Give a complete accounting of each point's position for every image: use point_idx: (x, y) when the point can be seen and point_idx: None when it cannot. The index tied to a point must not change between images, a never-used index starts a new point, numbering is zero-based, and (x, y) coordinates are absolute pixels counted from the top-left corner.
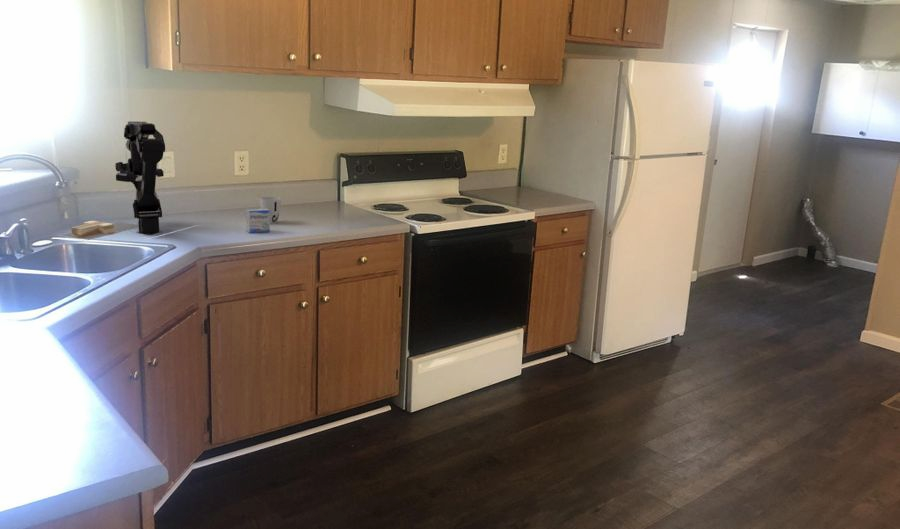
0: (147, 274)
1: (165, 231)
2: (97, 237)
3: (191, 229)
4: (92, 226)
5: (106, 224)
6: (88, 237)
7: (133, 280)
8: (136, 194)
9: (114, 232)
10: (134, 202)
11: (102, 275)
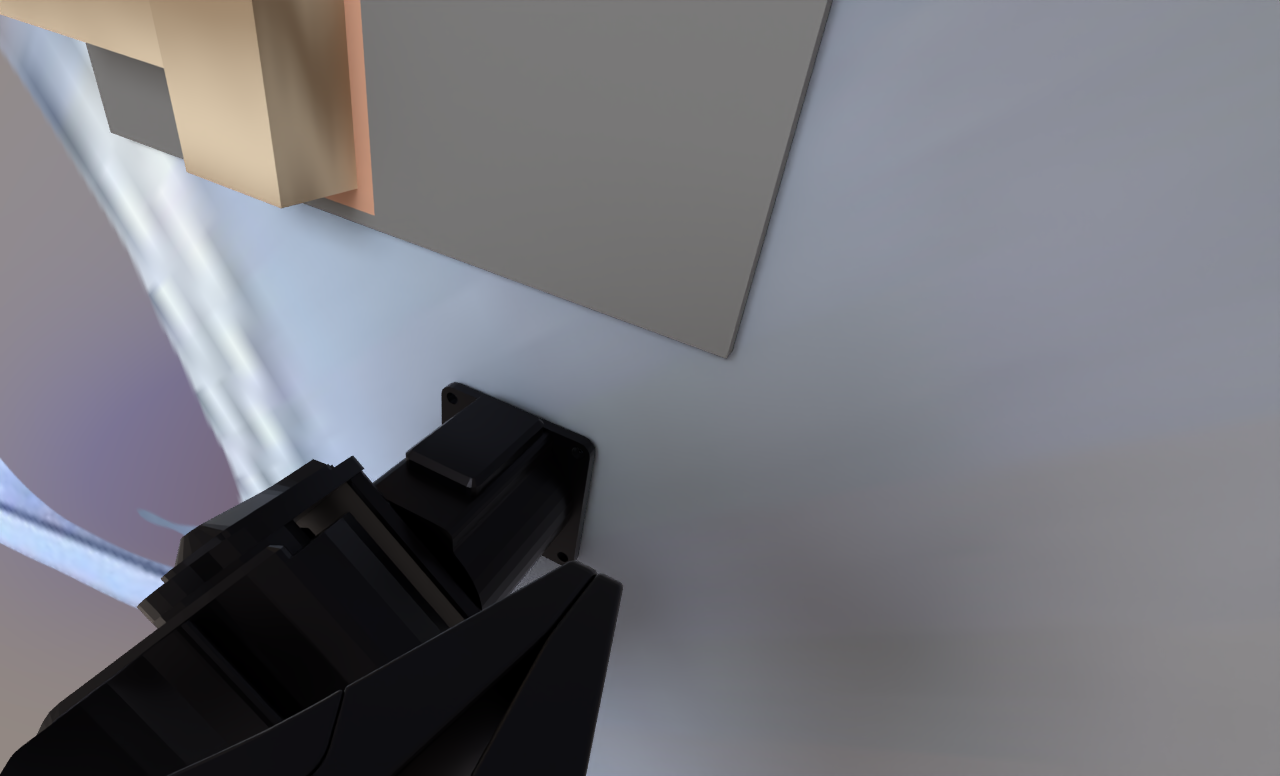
0: (98, 589)
1: (638, 568)
2: (178, 156)
3: (784, 737)
4: (103, 47)
5: (223, 145)
6: (131, 81)
7: (52, 563)
8: (59, 705)
9: (349, 199)
10: (165, 579)
11: (3, 472)
